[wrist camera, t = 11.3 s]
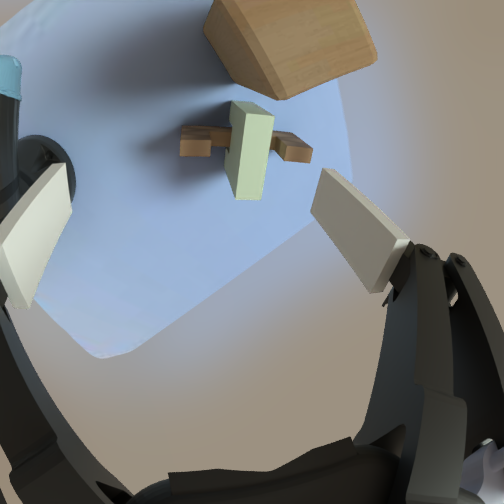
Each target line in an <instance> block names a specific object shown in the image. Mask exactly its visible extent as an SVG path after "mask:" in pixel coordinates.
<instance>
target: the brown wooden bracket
mask: <svg viewBox="0 0 504 504" xmlns="http://www.w3.org/2000/svg"><path fill="white" fill-rule="evenodd" d="M231 133H232V127H220V126H186V125H182V129H181V139H180V156H201V157H210V151H211V146H220V147H230V142H231ZM269 150H275V151H276V153H277V154H278V155H279V156H280V157H281V158H282V159H283V160H284V161H292V162H302V163H310V161H311V156H312V152H313V148H312V147H310V146H309V145H308V144H306V143H305V142H304V141H302V140H301V139H300V138H298V137H297V136H296V135H294V134H293V133H290V132H281V131H272V136H271V142H270V148H269Z"/></svg>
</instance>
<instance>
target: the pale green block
mask: <svg viewBox="0 0 504 504" xmlns="http://www.w3.org/2000/svg"><path fill="white" fill-rule="evenodd" d="M274 118H275V116H274V115H272V114H271V113H269V112H267V111H266V110H264V109H263V108H261V107H260V106H258V105H256V104H255V103H253V102H245V101H233V100H231V106H230V115H229V122H230V123H231V124H232V133H231V142H230V147H226V150H225V160H224V168H225V171H226V174H227V177H228V180H229V183H230V185H231V188H232V191H233V194H234V197H235V200H261V197H262V190H263V184H264V178H265V172H266V166H267V160H268V154H269V148H270V142H271V136H272V130H273V124H274Z"/></svg>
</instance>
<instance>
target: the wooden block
mask: <svg viewBox="0 0 504 504" xmlns="http://www.w3.org/2000/svg"><path fill="white" fill-rule="evenodd" d="M203 32H204V34H205V36H206V37H207V39H208V41H209V42H210V44H211V45H212V47H213V49H214V50H215V52H216V53H217V55H218V57H219V58H220V60H221V61H222V63H223V65H224V66H225V68H226V70H227V71H228V73H229V75H230V76H231V78H232V80H233V81H234V82H235V83H237V84H239V85H241V86H244V87H246V88H249V89H251V90H254V91H256V92H258V93H261V94H263V95H265V96H268V97H270V98H272V99H274V100H287V99H289V98H291V97H293V96H296V95H298V94H300V93H302V92H304V91H307V90H309V89H311V88H314V87H316V86H318V85H321V84H323V83H325V82H328V81H330V80H333V79H335V78H338V77H340V76H342V75H345V74H348V73H350V72H353V71H356V70H358V69H361V68H364V67H367V66H370V65H371V64H373V63H374V62H375V61H376V60H377V52H376V49H375V46H374V43H373V41H372V38H371V36H370V34H369V31H368V29H367V26H366V24H365V22H364V19H363V17H362V15H361V13H360V10H359V8H358V6H357V4H356V2H355V0H214V2H213V4H212V7H211V9H210V11H209V14H208V16H207V19H206V22H205V24H204V27H203Z"/></svg>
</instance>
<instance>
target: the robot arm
mask: <svg viewBox="0 0 504 504" xmlns="http://www.w3.org/2000/svg"><path fill="white" fill-rule="evenodd" d="M21 75H22V66H21V63H20V61H19V60H18V59H17V58H15V57H13V56H9V55H0V445H1V447H2V449H3V450H4V452H5V454H6V456H7V458H8V460H9V462H10V464H11V466H12V471H11V472H10V474H9V478H10V482H11V484H12V486H13V488H14V490H15V492H16V494H17V495H18V497H19V498H20V500H21V501H22V503H23V504H504V332H503V330H502V327H501V325H500V323H499V320H498V318H497V316H496V314H495V312H494V309H493V307H492V305H491V304H490V301H489V299H488V297H487V295H486V293H485V291H484V289H483V287H482V285H481V283H480V281H479V280H478V278H477V276H476V274H475V272H474V270H473V269H472V267H471V265H470V264H469V262H468V261H467V260H466V259H465V258H464V257H463V256H462V255H458V254H456V253H451V254H450V255H449V257H448V259H447V261H442V260H440V257H439V255H438V254H437V253H436V252H435V251H434V250H433V249H432V248H430V247H428V246H426V245H423V244H416V245H414V244H413V243H412V242H411V241H410V239H409V238H408V237H407V236H406V235H405V233H404V232H403V231H402V230H401V229H400V228H399V227H398V226H396V224H395V223H393V222H392V221H391V220H390V219H389V218H388V217H387V216H386V215H385V214H384V213H383V212H382V211H381V210H380V209H379V208H378V207H377V206H376V205H374V204H373V203H372V202H371V201H370V200H369V199H368V198H367V197H366V196H365V195H363V194H362V193H361V192H360V191H359V190H358V189H357V188H356V187H354V186H353V185H352V184H351V183H350V182H349V181H348V180H346V179H345V178H344V177H343V176H342V175H340V174H339V173H338V172H337V171H336V170H334V169H328V168H322V171H321V175H320V179H319V182H318V186H317V190H316V193H315V197H314V200H313V204H312V207H311V211H310V212H311V214H312V215H313V216H314V217H315V219H316V220H317V221H318V223H319V224H320V225H321V227H322V228H323V229H324V231H325V232H326V233H327V235H328V236H329V237H330V238H331V240H332V241H333V243H334V244H335V245H336V247H337V248H338V249H339V251H340V252H341V254H342V255H343V256H344V258H345V259H346V261H347V262H348V263H349V265H350V266H351V267H352V269H353V270H354V272H355V273H356V274H357V276H358V277H359V279H360V280H361V282H362V283H363V285H364V286H365V288H366V289H367V290H368V292H369V293H370V294H371V293H378V292H383V290H384V289H385V287H386V285H387V283H388V282H389V281H390V282H391V284H392V285H393V287H392V289H391V291H390V293H389V294H388V296H387V298H386V299H385V301H384V303H383V304H382V306H383V307H384V306H385V304H387V303H388V307H387V315H386V323H385V329H384V335H383V342H382V347H381V352H380V358H379V363H378V368H377V372H376V377H375V382H374V386H373V390H372V394H371V398H370V402H369V406H368V410H367V413H366V417H365V421H364V424H363V426H362V428H361V430H360V431H359V432H358V434H357V435H356V436H355V438H354V440H353V442H352V439H351V437H347V438H344V439H342V440H339V441H336V442H333V443H331V444H327V445H324V446H321V447H317V448H314V449H312V450H310V451H308V452H306V453H305V454H303V455H301V456H299V457H298V458H296V459H294V460H292V461H290V462H289V463H287V464H285V465H283V466H281V467H279V468H277V469H275V470H273V471H268V472H257V471H256V472H255V471H237V470H224V469H211V470H202V471H190V472H172V473H171V472H170V473H168V475H169V479H166V480H162V481H159V482H157V483H154V484H152V485H150V486H148V487H146V488H145V489H142V490H141V491H140V492H138V493H137V494H136V495H133V494H132V493H131V492H130V491H129V490H128V489H127V488H126V487H125V486H124V485H123V484H122V483H121V482H120V481H118V479H117V478H116V477H114V476H113V475H112V474H111V473H110V472H109V471H108V470H107V469H105V468H104V467H103V466H102V465H101V464H100V463H99V462H98V461H97V459H96V458H95V457H94V456H93V455H92V454H91V452H90V451H89V450H88V449H87V447H86V446H85V445H84V444H83V442H82V441H81V440H80V439H79V437H78V436H77V435H76V433H75V432H74V431H73V429H72V428H71V427H70V425H69V424H68V422H67V421H66V419H65V418H64V417H63V415H62V414H61V412H60V411H59V409H58V408H57V406H56V405H55V403H54V401H53V400H52V398H51V397H50V395H49V393H48V392H47V390H46V388H45V387H44V385H43V384H42V382H41V380H40V378H39V376H38V375H37V373H36V371H35V369H34V367H33V365H32V363H31V361H30V359H29V357H28V355H27V353H26V352H25V350H24V347H23V345H22V343H21V341H20V339H19V336H18V334H17V332H16V330H15V327H14V325H13V323H12V320H11V318H10V315H9V313H8V310H7V309H6V307H5V305H4V304H5V302H6V299H7V297H8V298H9V300H10V302H11V304H12V305H13V307H14V308H20V309H30V306H31V303H32V300H33V298H34V295H35V292H36V290H37V287H38V284H39V282H40V279H41V277H42V275H43V272H44V270H45V267H46V265H47V263H48V261H49V258H50V256H51V254H52V252H53V250H54V247H55V245H56V243H57V241H58V239H59V237H60V235H61V233H62V231H63V229H64V227H65V225H66V223H67V221H68V219H69V218H70V216H71V214H72V207H71V203H72V200H73V198H74V194H75V188H76V179H75V172H74V168H73V165H72V162H71V160H70V158H69V156H68V155H67V153H66V152H65V151H64V149H63V148H62V147H61V146H60V145H59V144H58V143H56V142H55V141H54V140H52V139H50V138H48V137H45V136H41V135H30V136H26V137H23V138H21V139H20V140H18V124H19V107H20V101H21V99H22V97H21V95H20V86H21ZM457 292H458V299H457V301H456V302H455V304H454V305H453V306H451V304H450V302H451V300H452V299H453V297H454V296H455V294H456V293H457ZM491 439H492V440H493V441H491ZM0 504H7V503H6V501H5V498H4V496H3V493H2V491H1V489H0Z"/></svg>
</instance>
